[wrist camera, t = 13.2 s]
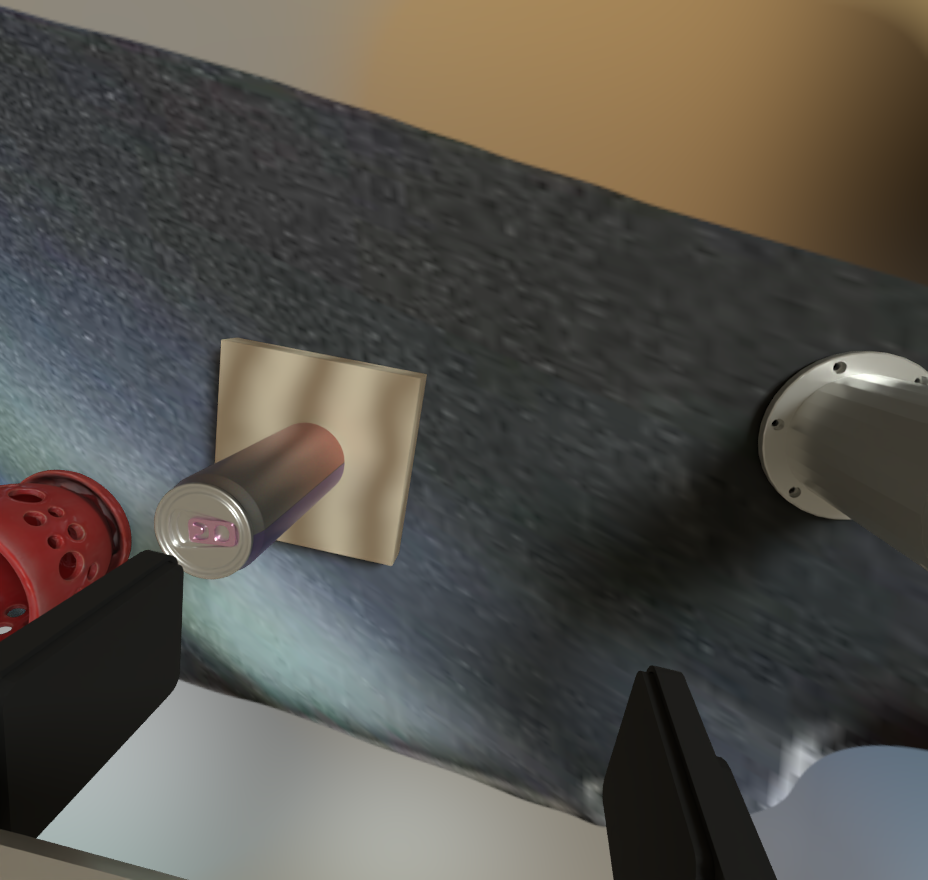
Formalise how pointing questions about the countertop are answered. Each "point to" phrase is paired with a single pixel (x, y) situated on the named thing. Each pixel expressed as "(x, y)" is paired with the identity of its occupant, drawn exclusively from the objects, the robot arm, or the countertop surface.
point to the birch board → (345, 416)
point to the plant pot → (55, 541)
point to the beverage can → (247, 500)
